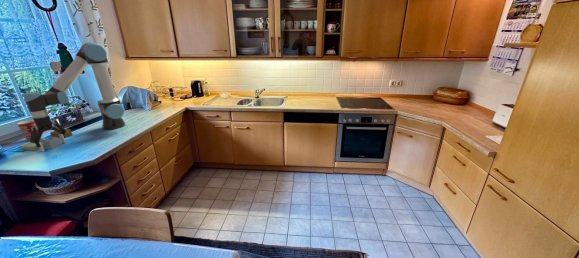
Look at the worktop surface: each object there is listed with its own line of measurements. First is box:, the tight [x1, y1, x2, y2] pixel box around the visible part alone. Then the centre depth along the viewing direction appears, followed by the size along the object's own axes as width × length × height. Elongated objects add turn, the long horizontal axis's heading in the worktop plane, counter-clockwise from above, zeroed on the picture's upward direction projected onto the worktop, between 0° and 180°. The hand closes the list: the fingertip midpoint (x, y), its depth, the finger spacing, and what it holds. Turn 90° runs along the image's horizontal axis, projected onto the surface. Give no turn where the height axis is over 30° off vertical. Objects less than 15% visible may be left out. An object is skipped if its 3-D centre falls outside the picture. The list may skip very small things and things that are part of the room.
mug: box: [16, 119, 38, 142], centre depth 172 cm, size 13×9×14 cm
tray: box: [19, 137, 46, 152], centre depth 162 cm, size 12×12×3 cm
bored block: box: [49, 128, 73, 141], centre depth 176 cm, size 8×8×5 cm
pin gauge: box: [52, 118, 61, 131], centre depth 175 cm, size 3×3×14 cm
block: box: [42, 136, 63, 150], centre depth 160 cm, size 6×6×6 cm
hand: (53, 146), depth 161 cm, fingers open, 12 cm apart
